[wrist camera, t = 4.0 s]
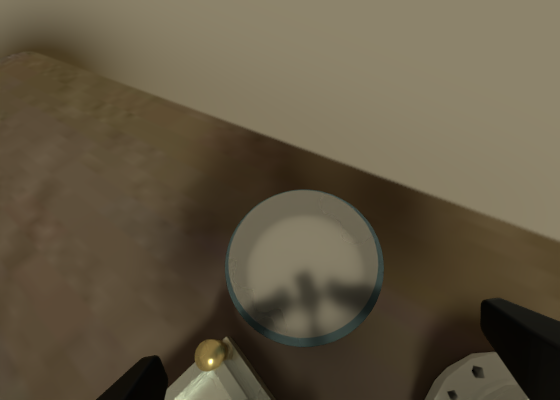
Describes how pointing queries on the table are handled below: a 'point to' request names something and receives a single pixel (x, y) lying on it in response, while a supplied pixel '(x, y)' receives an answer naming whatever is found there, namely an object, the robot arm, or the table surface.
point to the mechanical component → (476, 380)
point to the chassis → (219, 375)
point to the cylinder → (304, 268)
